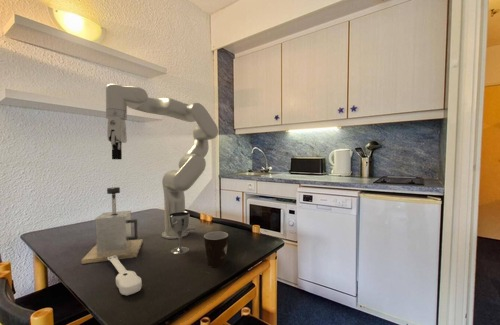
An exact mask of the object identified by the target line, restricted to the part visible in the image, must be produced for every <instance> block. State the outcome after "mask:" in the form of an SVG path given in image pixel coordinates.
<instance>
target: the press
mask: <svg viewBox="0 0 500 325" xmlns="http://www.w3.org/2000/svg"><path fill="white" fill-rule="evenodd" d="M131 213H132V210H124V211H123V210H122V211H116V215H112V211H110V212H109V211H108V212H102V213H101V214H100V215H98V216H97V217H96V218H94V220H95V221H94V222H95V230H96V231H95V232H96V234H95V236H96V237H97V238H96V244H95V245H94V246H93V247H92V248H91V249H90V250H89V252H88V253H87V254H86V255H85V256H83V258H82V259H81V265H85V264H92V263H93V264H94V263H101V262H107V261H109V262H111V261H110V260H108V259H107V258H108V257H110V256H117V257H118V260H125V259H131V258H132V259H133V258H137V256H138V254H139V252H140V250H141V247H142V246H143V242H144V241H143V239H142V238H141V239H139V230H138V228H139V226H138V225H139V224H138V218H134V219H132V218H131V216H132V215H131ZM132 224H134V225H133V226H134V227H133V228H134V235H132ZM114 258H116V257H114ZM109 259H111V258H109Z"/></svg>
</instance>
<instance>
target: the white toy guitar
mask: <svg viewBox="0 0 500 325" xmlns="http://www.w3.org/2000/svg"><path fill="white" fill-rule="evenodd" d="M114 257H116V258H114ZM109 258H111V259H109ZM107 259H108V260H110V261H109V262H110V263H111V264H112V266H114V268H115V270H116V271H117V272H118V274H117V275H116V276H115V285H116V287H117V288H118V290H119V293H120V294H121V295H124V296H130V295H133V294H136V293H137V292H139V291H141V289H142V287H143V286H142V284H143V282H142V281H143V280H142V277H140V276H138V275H137V273H136V272H135V271H134V270H127V268H126V267H125V266H124V265H123V264H122V263H121V261H120V259H118V257H117V256H110V257H108V258H107Z"/></svg>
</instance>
